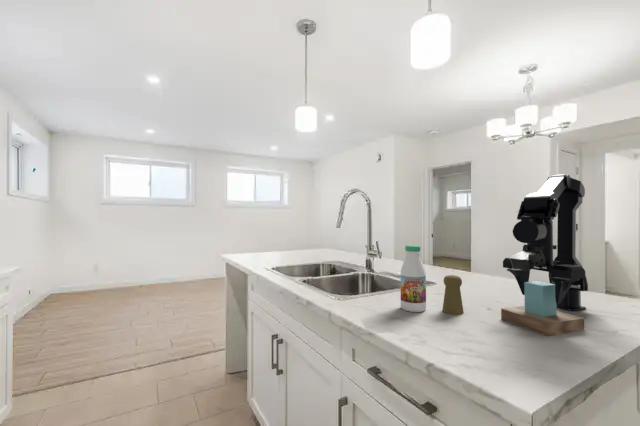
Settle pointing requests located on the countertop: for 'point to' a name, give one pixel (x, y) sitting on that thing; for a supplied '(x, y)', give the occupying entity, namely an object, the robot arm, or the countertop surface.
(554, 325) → the wooden board
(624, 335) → the countertop surface
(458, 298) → the cork
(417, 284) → the milk bottle
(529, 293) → the teal block
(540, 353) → the countertop surface
